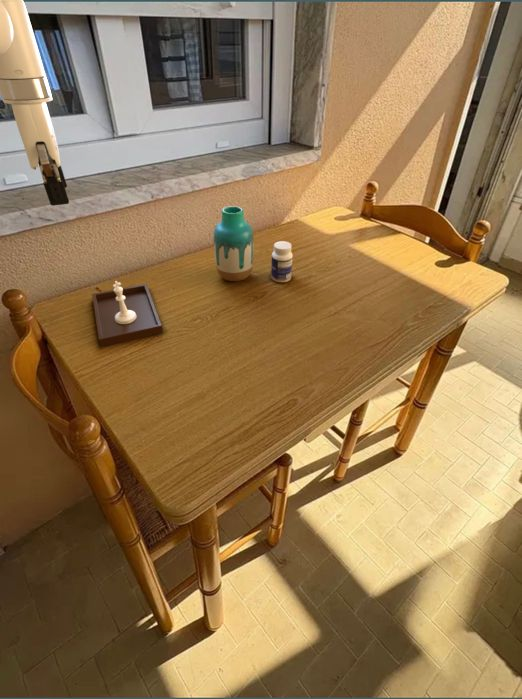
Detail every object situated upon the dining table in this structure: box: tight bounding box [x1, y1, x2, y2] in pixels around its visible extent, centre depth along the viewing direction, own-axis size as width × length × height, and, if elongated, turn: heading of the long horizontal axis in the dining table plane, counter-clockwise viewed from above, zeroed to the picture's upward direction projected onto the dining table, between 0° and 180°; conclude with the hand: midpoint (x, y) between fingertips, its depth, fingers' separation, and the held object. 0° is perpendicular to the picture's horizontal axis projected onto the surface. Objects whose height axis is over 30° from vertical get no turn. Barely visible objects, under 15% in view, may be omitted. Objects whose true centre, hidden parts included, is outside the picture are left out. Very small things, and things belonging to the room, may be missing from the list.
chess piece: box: [112, 280, 137, 324], centre depth 87 cm, size 5×5×10 cm
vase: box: [213, 205, 255, 282], centre depth 101 cm, size 11×11×19 cm
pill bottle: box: [270, 240, 294, 283], centre depth 104 cm, size 6×6×10 cm
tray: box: [91, 283, 164, 348], centre depth 92 cm, size 14×20×2 cm
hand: (59, 195), depth 74 cm, fingers open, 9 cm apart
